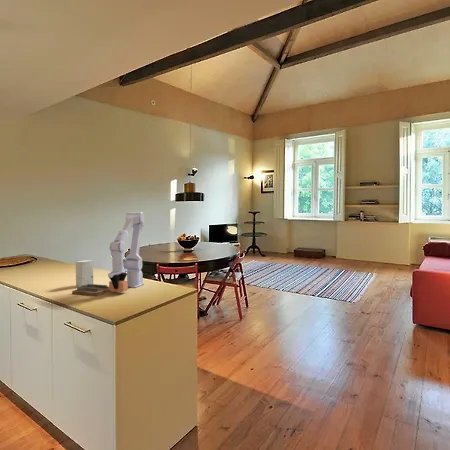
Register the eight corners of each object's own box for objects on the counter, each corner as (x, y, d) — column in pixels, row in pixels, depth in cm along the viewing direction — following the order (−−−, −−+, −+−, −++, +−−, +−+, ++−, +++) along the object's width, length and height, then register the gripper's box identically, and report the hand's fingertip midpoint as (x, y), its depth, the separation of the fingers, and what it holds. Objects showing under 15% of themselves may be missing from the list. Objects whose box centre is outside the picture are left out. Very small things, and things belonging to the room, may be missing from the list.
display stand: (90, 287, 193) (89, 282, 193) (113, 289, 188) (113, 284, 188) (72, 293, 180) (72, 288, 179) (96, 296, 175) (96, 290, 175)
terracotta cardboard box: (113, 288, 185) (113, 280, 184) (127, 290, 182) (127, 281, 182) (109, 290, 181) (108, 281, 180) (123, 291, 178) (123, 282, 178)
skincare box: (82, 287, 194) (81, 262, 193) (75, 286, 197) (74, 261, 196) (94, 284, 201) (93, 260, 200) (87, 283, 204) (86, 259, 203)
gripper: (115, 265, 172) (116, 291, 173) (131, 261, 186) (132, 285, 187) (104, 265, 174) (105, 290, 175) (121, 260, 188) (121, 284, 189)
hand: (118, 287), depth 181 cm, fingers closed on terracotta cardboard box, 4 cm apart
